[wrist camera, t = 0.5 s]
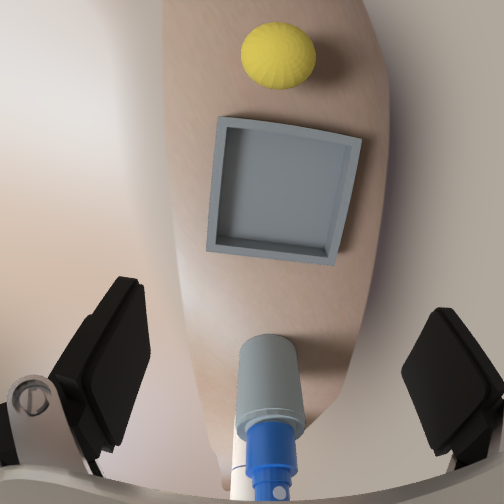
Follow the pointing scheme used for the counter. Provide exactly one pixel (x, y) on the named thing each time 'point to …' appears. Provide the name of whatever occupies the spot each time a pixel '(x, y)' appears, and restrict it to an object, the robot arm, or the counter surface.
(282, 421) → the spray bottle
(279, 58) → the light bulb
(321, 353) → the counter surface
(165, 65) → the counter surface
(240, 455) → the cylindrical container
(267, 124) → the tray
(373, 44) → the counter surface
